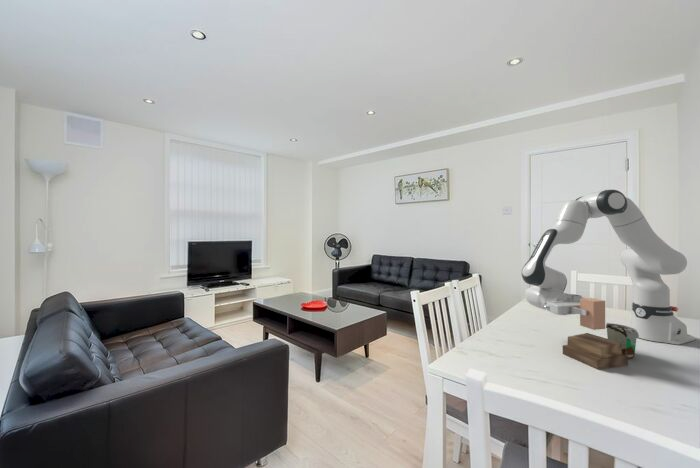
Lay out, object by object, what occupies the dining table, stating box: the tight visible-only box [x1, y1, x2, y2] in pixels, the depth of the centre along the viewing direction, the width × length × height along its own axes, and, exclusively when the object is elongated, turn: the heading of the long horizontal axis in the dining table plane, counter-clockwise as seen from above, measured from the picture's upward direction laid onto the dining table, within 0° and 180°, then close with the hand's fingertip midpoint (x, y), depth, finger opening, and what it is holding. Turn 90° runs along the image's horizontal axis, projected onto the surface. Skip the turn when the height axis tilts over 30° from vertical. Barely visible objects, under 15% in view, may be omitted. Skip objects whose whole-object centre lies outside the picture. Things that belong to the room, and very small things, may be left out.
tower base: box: [562, 344, 629, 370], centre depth 107 cm, size 13×13×4 cm
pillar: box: [579, 297, 606, 331], centre depth 107 cm, size 5×5×10 cm
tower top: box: [567, 332, 622, 359], centre depth 107 cm, size 11×11×4 cm
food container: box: [605, 322, 640, 360], centre depth 111 cm, size 12×6×10 cm, turn 168°
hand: (594, 312), depth 106 cm, fingers closed on pillar, 5 cm apart
